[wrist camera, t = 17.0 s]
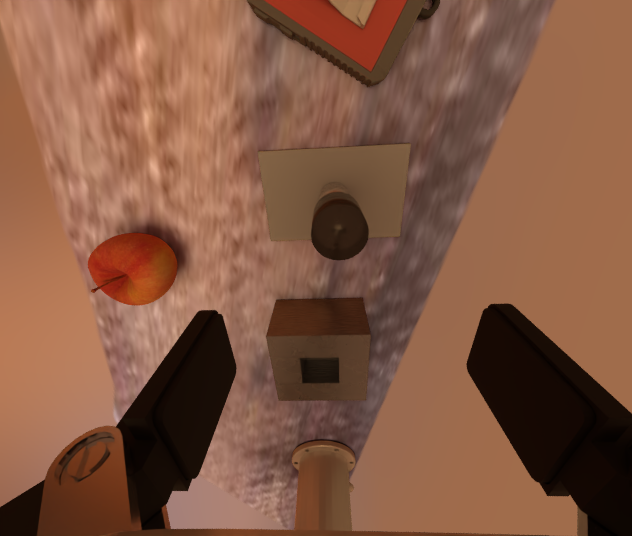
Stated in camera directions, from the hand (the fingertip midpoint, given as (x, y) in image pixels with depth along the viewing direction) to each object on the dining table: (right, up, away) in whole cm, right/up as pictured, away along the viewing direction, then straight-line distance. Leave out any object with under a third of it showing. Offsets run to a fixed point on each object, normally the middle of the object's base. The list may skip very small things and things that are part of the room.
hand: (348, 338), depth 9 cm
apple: (-20, +5, +21) cm, 29 cm away
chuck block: (-1, -6, +26) cm, 26 cm away
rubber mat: (+1, +10, +17) cm, 19 cm away
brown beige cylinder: (+1, +10, +16) cm, 19 cm away
